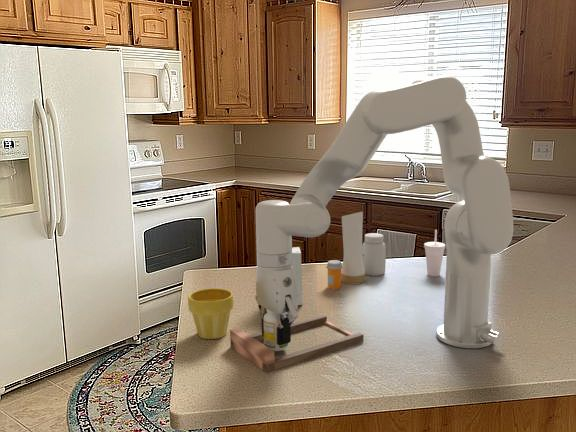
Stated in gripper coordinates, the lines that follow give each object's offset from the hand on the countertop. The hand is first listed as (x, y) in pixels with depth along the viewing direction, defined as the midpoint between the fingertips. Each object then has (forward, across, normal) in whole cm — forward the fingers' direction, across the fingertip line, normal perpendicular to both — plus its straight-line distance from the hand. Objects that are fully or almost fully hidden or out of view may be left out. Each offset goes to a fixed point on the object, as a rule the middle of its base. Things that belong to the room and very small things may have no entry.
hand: (276, 337), depth 126 cm
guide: (+3, 0, -6) cm, 6 cm away
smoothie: (+3, +18, -70) cm, 72 cm away
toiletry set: (+3, +28, -47) cm, 55 cm away
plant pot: (+3, +16, +7) cm, 18 cm away
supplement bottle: (+2, 0, 0) cm, 2 cm away
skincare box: (+3, +24, -19) cm, 30 cm away
